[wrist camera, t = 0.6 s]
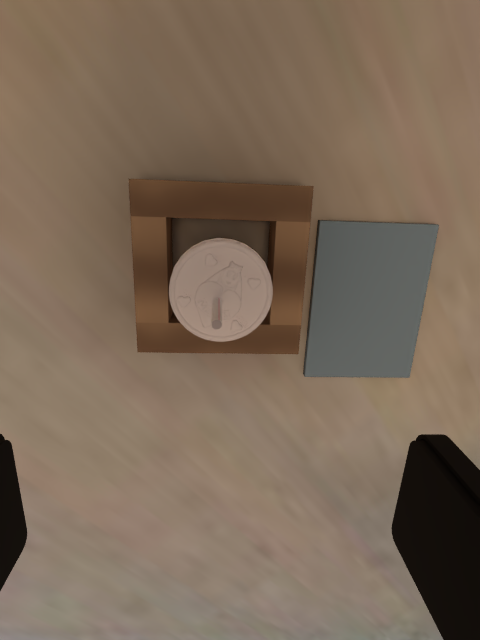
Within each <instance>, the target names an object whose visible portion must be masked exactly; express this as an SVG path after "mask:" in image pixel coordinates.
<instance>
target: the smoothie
mask: <svg viewBox="0 0 480 640" xmlns="http://www.w3.org/2000/svg"><path fill="white" fill-rule="evenodd" d="M272 296H273V287H272V281H271V276H270V273H269V270H268V268H267V266H266V264H265V262H264V261H263V259H262V258H261V257H260V256H259V254H258V253H257V252H256V251H254V250H253V249H252V248H250V247H249V246H248V245H246V244H244V243H241V242H239V241H236V240H233V239H226V238H215V239H209V240H204V241H202V242H200V243H198V244H196V245H194V246H192V247H191V248H190V249H188V250H187V251H186V252H185V253H184V254H183V255H182V256H181V257H180V259H179V260H178V262H177V263H176V265H175V266H174V269H173V272H172V275H171V278H170V283H169V299H170V304H171V307H172V310H173V312H174V314H175V316H176V317H177V319H178V320H179V322H180V323H181V324H182V325H183V326H184V327H185V328H186V329H187V330H188V331H190V332H191V333H193V334H194V335H196V336H198V337H200V338H203V339H206V340H210V341H216V342H225V341H232V340H236V339H239V338H242V337H244V336H246V335H248V334H249V333H251V332H252V331H254V330H255V329H256V328H257V327H258V326H259V325H260V324H261V323H262V321H263V320H264V319H265V317H266V315H267V313H268V311H269V309H270V306H271V302H272Z"/></svg>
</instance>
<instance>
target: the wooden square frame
mask: <svg viewBox="0 0 480 640" xmlns="http://www.w3.org/2000/svg"><path fill="white" fill-rule="evenodd" d="M129 194H130V213H131V233H132V252H133V271H134V290H135V310H136V329H137V348H138V352H167V353H252V354H298V351H299V340H300V329H301V318H302V307H303V296H304V285H305V274H306V263H307V252H308V241H309V230H310V219H311V208H312V197H313V186H294V185H269V184H244V183H220V182H195V181H170V180H146V179H129ZM172 218H198V219H228V220H257V221H270V231H269V248H268V265H267V268H268V270H269V273H270V276H271V281H272V287H273V296H272V302H271V306H270V309H269V311H268V313H267V315H266V317H265V319H264V320H263V321H262V323H261V324H260V325H259V326H258V327H257V328H256V329H255V330H254V331H252V332H251V333H249V334H248V335H246V336H244V337H242V338H239V339H236V340H232V341H225V342H216V341H210V340H206V339H203V338H200V337H198V336H196V335H194V334H193V333H191V332H190V331H188V330H187V329H186V328H185V327H184V326H183V325H182V324H181V323H180V322H179V320H178V319H177V317H176V316H175V314H174V312H173V310H172V307H171V304H170V299H169V283H170V278H171V275H172V272H173V252H172Z"/></svg>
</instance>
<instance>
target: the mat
mask: <svg viewBox="0 0 480 640" xmlns="http://www.w3.org/2000/svg"><path fill="white" fill-rule="evenodd" d="M438 227H439V225H436V224H410V223H382V222H353V221H324V220H318V228H317V239H316V249H315V259H314V270H313V280H312V290H311V300H310V311H309V321H308V331H307V342H306V352H305V362H304V373H303V374H304V376H305V377H405V378H409V377H410V372H411V367H412V362H413V356H414V351H415V346H416V341H417V336H418V331H419V325H420V320H421V315H422V310H423V305H424V300H425V294H426V289H427V284H428V279H429V274H430V269H431V263H432V258H433V253H434V248H435V243H436V238H437V232H438Z"/></svg>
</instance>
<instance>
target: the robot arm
mask: <svg viewBox="0 0 480 640" xmlns="http://www.w3.org/2000/svg"><path fill="white" fill-rule="evenodd" d="M392 535H393V539H394V542H395V544H396V546H397V548H398V550H399V552H400V554H401V556H402V558H403V560H404V562H405V564H406V566H407V568H408V570H409V572H410V574H411V576H412V578H413V580H414V582H415V584H416V586H417V588H418V590H419V592H420V594H421V596H422V598H423V600H424V602H425V604H426V606H427V608H428V610H429V612H430V614H431V616H432V618H433V620H434V622H435V624H436V626H437V628H438V630H439V632H440V634H441V636H442V637H443V639H444V640H480V470H479V469H478V468H477V467H476V466H475V465H474V464H473V463H472V462H471V460H470V459H469V458H468V457H467V456H466V455H465V454H464V453H463V452H462V451H461V450H460V449H459V448H458V447H457V446H456V445H455V444H454V443H453V441H452V440H451V439H450V438H449V437H447V436H446V435H419V436H418V437H417V438H416V441H412V442H411V443H410V446H409V450H408V455H407V459H406V464H405V468H404V473H403V477H402V482H401V487H400V491H399V496H398V500H397V505H396V509H395V514H394V518H393V523H392ZM26 539H27V527H26V522H25V516H24V511H23V505H22V499H21V494H20V488H19V483H18V477H17V472H16V466H15V460H14V455H13V449H12V445H11V442H10V441H8V440H5V439H4V437H3V435H2V434H0V591H1V589H2V587H3V585H4V583H5V581H6V580H7V578H8V576H9V574H10V572H11V571H12V569H13V567H14V565H15V563H16V561H17V560H18V558H19V556H20V554H21V552H22V550H23V548H24V546H25V543H26Z"/></svg>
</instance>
